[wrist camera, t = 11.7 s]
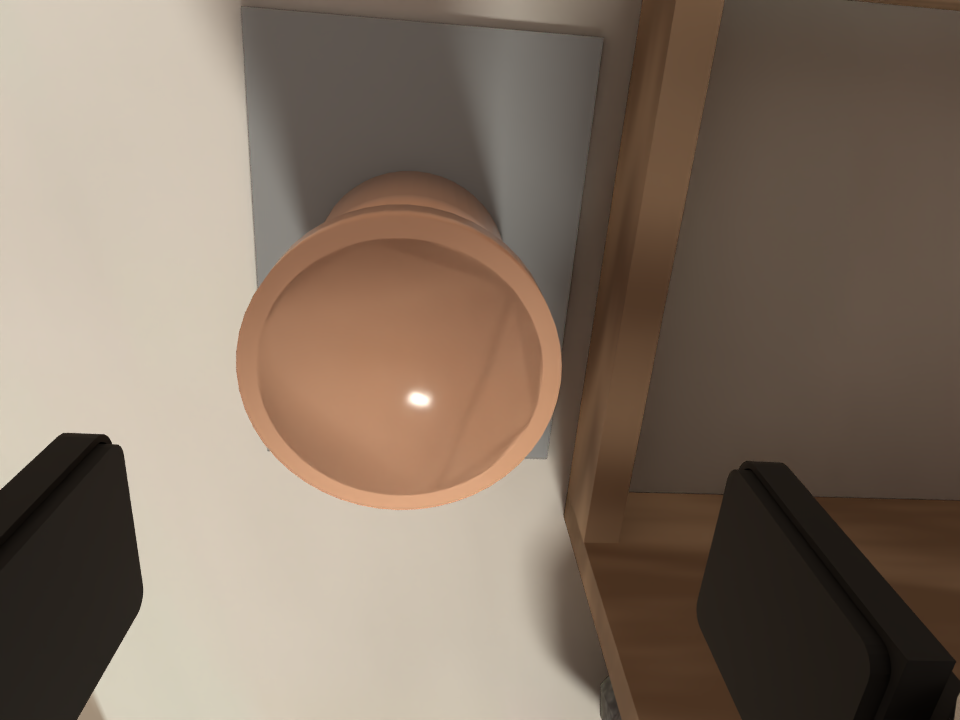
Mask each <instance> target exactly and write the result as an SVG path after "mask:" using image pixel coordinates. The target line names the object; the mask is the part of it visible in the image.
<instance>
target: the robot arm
mask: <svg viewBox="0 0 960 720" xmlns="http://www.w3.org/2000/svg"><path fill="white" fill-rule="evenodd" d="M142 598H143V583H142V576H141V569H140V562H139V556H138V549H137V542H136V535H135V528H134V521H133V514H132V508H131V501H130V494H129V487H128V480H127V473H126V467H125V460H124V454H123V450H122V448H121V446H119V445H114V444H112V442H111V440H110V439H109V437H108V436H106V435H105V434H81V433H63V434H61V435H59V436H58V437H57V438H56V439H55V440H54V441H52V442H51V443H50V444H49V445H48V446H47V447H46V448H45V449H44V450H43V451H42V452H41V453H40V454H39V455H37V456H36V457H35V458H34V459H33V460H32V461H31V462H30V463H29V464H28V465H27V466H26V467H25V468H23V469H22V470H21V471H20V472H19V473H18V474H17V475H16V476H15V477H14V478H13V479H12V480H11V481H10V482H8V483H7V484H6V485H5V486H4V487H3V488H2V489H1V490H0V720H77V719H78V717H79V715H80V713H81V712H82V710H83V708H84V706H85V705H86V703H87V701H88V699H89V698H90V696H91V694H92V692H93V691H94V689H95V687H96V686H97V684H98V682H99V680H100V679H101V677H102V675H103V673H104V672H105V670H106V668H107V666H108V665H109V663H110V661H111V659H112V658H113V656H114V654H115V652H116V651H117V649H118V647H119V645H120V644H121V642H122V640H123V638H124V637H125V635H126V633H127V631H128V630H129V628H130V626H131V624H132V623H133V621H134V619H135V617H136V616H137V614H138V612H139V610H140V606H141V603H142ZM696 612H697V620H698V624H699V627H700V629H701V631H702V634H703V636H704V638H705V640H706V642H707V644H708V647H709V649H710V651H711V653H712V655H713V658H714V660H715V662H716V664H717V666H718V669H719V671H720V673H721V675H722V677H723V679H724V682H725V684H726V686H727V688H728V690H729V693H730V695H731V697H732V699H733V701H734V704H735V706H736V708H737V710H738V712H739V714H740V717H741V719H742V720H960V680H959V679H958V678H957V676H956V675H955V674H954V673H953V672H952V670H953V668H954V665H955V663H956V660H955V659H954V658H953V657H952V656H951V655H950V653H949V652H948V651H947V650H946V649H945V648H944V646H943V645H942V644H941V643H940V642H939V641H938V640H937V638H936V637H935V636H934V635H933V634H932V633H931V632H930V630H929V629H928V628H927V627H926V626H925V625H924V623H923V622H922V621H921V620H920V619H919V618H918V617H917V615H916V614H915V613H914V612H913V611H912V610H911V608H910V607H909V606H908V605H907V604H906V603H905V602H904V600H903V599H902V598H901V597H900V596H899V595H898V594H897V592H896V591H895V590H894V589H893V588H892V587H891V585H890V584H889V583H888V582H887V581H886V580H885V579H884V577H883V576H882V575H881V574H880V573H879V572H878V570H877V569H876V568H875V567H874V566H873V565H872V564H871V562H870V561H869V560H868V559H867V558H866V557H865V555H864V554H863V553H862V552H861V551H860V550H859V549H858V547H857V546H856V545H855V544H854V543H853V542H852V541H851V539H850V538H849V537H848V536H847V535H846V534H845V532H844V531H843V530H842V529H841V528H840V527H839V526H838V524H837V523H836V522H835V521H834V520H833V519H832V517H831V516H830V515H829V514H828V513H827V512H826V511H825V509H824V508H823V507H822V506H821V505H820V504H819V502H818V501H817V500H816V499H815V498H814V497H813V496H812V494H811V493H810V492H809V491H808V490H807V489H806V488H805V486H804V485H803V484H802V483H801V482H800V481H799V479H798V478H797V477H796V476H795V475H794V474H793V473H792V471H791V470H790V469H789V468H788V467H787V466H786V465H785V464H783V463H779V462H755V461H746V462H744V463H743V464H742V465H741V466H740V468H739V470H733V471H731V473H730V474H729V476H728V479H727V483H726V487H725V491H724V495H723V499H722V503H721V507H720V511H719V515H718V519H717V523H716V527H715V531H714V536H713V540H712V544H711V548H710V552H709V556H708V560H707V564H706V568H705V572H704V576H703V580H702V584H701V588H700V592H699V596H698V600H697V607H696Z"/></svg>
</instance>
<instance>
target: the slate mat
mask: <svg viewBox="0 0 960 720" xmlns="http://www.w3.org/2000/svg"><path fill="white" fill-rule="evenodd" d="M241 16H242V33H243V49H244V66H245V83H246V99H247V116H248V133H249V149H250V166H251V183H252V199H253V216H254V233H255V249H256V266H257V283H258V288H259V286H260V285H261V283H262V282H263V281H264V279H265V278H266V276H267V275H268V273H269V272H270V271H271V269H272V268H273V267H274V265H275V264H276V262H277V261H278V260H279V259H280V257H281V256H282V255H283V254H284V253H285V252H286V251H287V250H288V249H289V248H290V247H291V246H292V245H293V244H294V243H295V242H296V241H298V240H299V239H300V238H301V237H302V236H304V235H305V234H306V233H307V232H309V231H311V230H312V229H314V228H316V227H317V226H319V225H321V224H322V223H324V221H325V219H326V218H327V216H328V215H329V213H330V212H331V210H332V209H333V207H334V206H335V205H336V204H337V203H338V201H339V200H340V199H341V198H342V197H343V196H344V195H345V194H347V193H348V192H349V191H350V190H352V189H353V188H354V187H356V186H358V185H359V184H361V183H363V182H364V181H367V180H369V179H371V178H374V177H376V176H379V175H383V174H386V173H391V172H399V171H418V172H425V173H430V174H434V175H438V176H441V177H444V178H446V179H448V180H451V181H453V182H455V183H456V184H458V185H460V186H462V187H463V188H465V189H466V190H467V191H469V192H470V193H471V194H472V195H474V196H475V197H476V198H477V199H478V200H479V201H480V202H481V203H482V204H483V205H484V207H485V208H486V209H487V211H488V212H489V213H490V215H491V216H492V218H493V220H494V222H495V224H496V225H497V228H498V230H499V233H500V235H501V238H502V240H503V242H504V243H505V244H506V245H507V246H508V247H509V248H510V249H511V250H512V251H513V252H514V253H515V254H516V255H517V256H518V257H519V258H520V259H521V261H522V262H523V263H524V265H525V266H526V267H527V269H528V270H529V271H530V272H531V274H532V276H533V278H534V279H535V281H536V283H537V285H538V287H539V288H540V290H541V292H542V295H543V297H544V299H545V301H546V303H547V306H548V308H549V310H550V313H551V315H552V318H553V321H554V323H555V326H556V329H557V334H558V338H559V342H560V348H561V352H562V344H563V337H564V329H565V322H566V314H567V307H568V300H569V292H570V285H571V277H572V270H573V263H574V255H575V248H576V240H577V233H578V225H579V218H580V211H581V203H582V196H583V188H584V181H585V173H586V166H587V159H588V151H589V144H590V136H591V129H592V121H593V114H594V107H595V99H596V92H597V84H598V77H599V69H600V62H601V55H602V47H603V40H604V37H592V36H581V35H569V34H558V33H546V32H535V31H523V30H511V29H500V28H488V27H477V26H465V25H453V24H442V23H430V22H419V21H407V20H396V19H384V18H372V17H361V16H349V15H338V14H326V13H314V12H303V11H291V10H280V9H268V8H256V7H245V6H241ZM552 418H553V414H552V417H551V419H550V421H549V423H548V425H547V427H546V429H545V431H544V433H543V435H542V436H541V438H540V439H539V441H538V442H537V443H536V445H535V446H534V448H533V449H532V451H531V452H530V453H529V454H528V455H527V456H526V457H525V458H524V459H547V456H548V448H549V441H550V433H551V426H552ZM267 449H268V448H267ZM268 451H270V450H269V449H268Z"/></svg>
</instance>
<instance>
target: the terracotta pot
mask: <svg viewBox="0 0 960 720" xmlns="http://www.w3.org/2000/svg"><path fill="white" fill-rule="evenodd" d="M561 370H562V361H561V348H560V342H559V338H558V334H557V329H556V326H555V323H554V321H553V318H552V315H551V313H550V310H549V308H548V306H547V303H546V301H545V299H544V297H543V295H542V292H541V290H540V288H539V287H538V285H537V283H536V281H535V279H534V278H533V276H532V274H531V272H530V271H529V270H528V269H527V267H526V266H525V265H524V263H523V262H522V261H521V259H520V258H519V257H518V256H517V255H516V254H515V253H514V252H513V251H512V250H511V249H510V248H509V247H508V246H507V245H506V244H505V243H504V242H503V240H502V238H501V235H500V233H499V230H498V228H497V225H496V224H495V222H494V220H493V218H492V216H491V215H490V213H489V212H488V211H487V209H486V208H485V207H484V205H483V204H482V203H481V202H480V201H479V200H478V199H477V198H476V197H475V196H474V195H472V194H471V193H470V192H469V191H467V190H466V189H465V188H463V187H462V186H460V185H458V184H456V183H455V182H453V181H451V180H448V179H446V178H444V177H441V176H438V175H434V174H430V173H425V172H418V171H399V172H391V173H386V174H383V175H379V176H376V177H374V178H371V179H369V180H367V181H364V182H363V183H361V184H359V185H358V186H356V187H354V188H353V189H352V190H350V191H349V192H348V193H347V194H345V195H344V196H343V197H342V198H341V199H340V200H339V201H338V203H337V204H336V205H335V206H334V207H333V209H332V210H331V212H330V213H329V215H328V216H327V218H326V219H325V221H324V223H322V224H321V225H319V226H317V227H316V228H314V229H312V230H311V231H309V232H307V233H306V234H305V235H304V236H302V237H301V238H300V239H299V240H298V241H296V242H295V243H294V244H293V245H292V246H291V247H290V248H289V249H288V250H287V251H286V252H285V253H284V254H283V255H282V256H281V257H280V259H279V260H278V261H277V262H276V264H275V265H274V267H273V268H272V269H271V271H270V272H269V273H268V275H267V276H266V278H265V279H264V281H263V282H262V283H261V285H260V286H259V288H258V289H257V291H256V292H255V294H254V296H253V298H252V300H251V302H250V304H249V306H248V308H247V310H246V312H245V315H244V318H243V322H242V325H241V328H240V331H239V337H238V344H237V351H236V372H237V378H238V385H239V391H240V394H241V398H242V401H243V404H244V407H245V410H246V412H247V414H248V417H249V419H250V421H251V423H252V425H253V427H254V429H255V430H256V432H257V433H258V435H259V437H260V438H261V440H262V441H263V443H264V444H265V445H266V446H267V448H268V449H269V450H270V451H271V452H272V453H273V455H274V456H275V457H276V458H277V459H278V460H279V461H280V462H281V463H282V464H283V465H284V466H286V467H287V468H288V469H289V470H290V471H291V472H292V473H294V474H295V475H297V476H298V477H299V478H301V479H302V480H304V481H305V482H306V483H308V484H310V485H312V486H313V487H315V488H317V489H319V490H321V491H322V492H325V493H327V494H329V495H332V496H334V497H336V498H339V499H341V500H345V501H348V502H351V503H355V504H358V505H363V506H368V507H374V508H380V509H393V510H408V509H422V508H429V507H436V506H440V505H444V504H448V503H452V502H456V501H458V500H461V499H464V498H466V497H469V496H472V495H474V494H476V493H478V492H480V491H482V490H484V489H486V488H488V487H489V486H491V485H492V484H494V483H495V482H497V481H499V480H500V479H502V478H503V477H505V476H506V475H507V474H508V473H509V472H510V471H512V470H513V469H514V468H515V467H516V466H517V465H519V464H520V463H521V461H522V460H523V459H524V458H525V457H526V456H527V455H528V454H529V453H530V452H531V451H532V449H533V448H534V446H535V445H536V443H537V442H538V441H539V439H540V438H541V436H542V435H543V433H544V431H545V429H546V427H547V425H548V423H549V421H550V419H551V417H552V414H553V411H554V408H555V406H556V403H557V399H558V394H559V389H560V384H561Z"/></svg>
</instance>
